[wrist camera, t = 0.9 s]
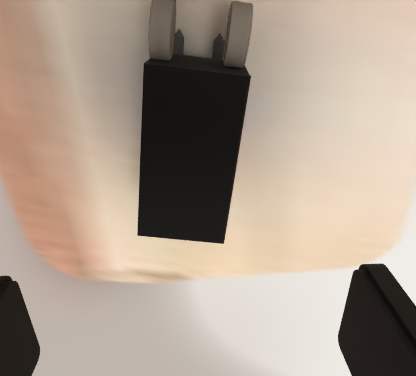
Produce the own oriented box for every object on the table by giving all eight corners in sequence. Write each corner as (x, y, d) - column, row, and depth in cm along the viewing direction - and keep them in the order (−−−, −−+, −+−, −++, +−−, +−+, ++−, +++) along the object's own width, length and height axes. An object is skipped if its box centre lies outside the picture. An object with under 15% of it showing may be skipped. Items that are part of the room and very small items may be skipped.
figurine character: (151, 1, 25) (145, 198, 30) (136, -18, 18) (131, 244, 23) (245, 12, 25) (223, 203, 31) (268, -3, 18) (233, 249, 24)
